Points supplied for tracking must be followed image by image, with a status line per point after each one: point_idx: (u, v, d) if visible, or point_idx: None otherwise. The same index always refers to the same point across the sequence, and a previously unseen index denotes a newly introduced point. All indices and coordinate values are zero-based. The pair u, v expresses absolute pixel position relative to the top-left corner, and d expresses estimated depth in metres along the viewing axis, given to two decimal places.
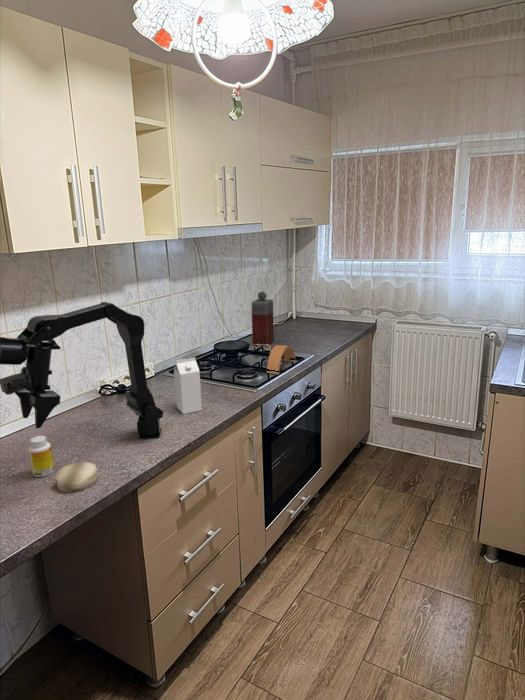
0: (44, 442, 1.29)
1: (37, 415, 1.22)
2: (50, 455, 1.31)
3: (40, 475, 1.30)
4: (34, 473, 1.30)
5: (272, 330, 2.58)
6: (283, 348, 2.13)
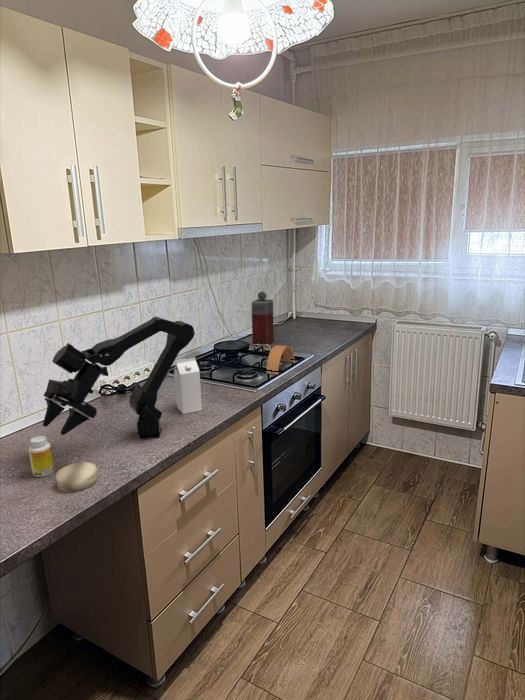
0: (44, 442, 1.29)
1: (69, 421, 1.30)
2: (50, 455, 1.31)
3: (40, 475, 1.30)
4: (34, 473, 1.30)
5: (272, 330, 2.58)
6: (282, 348, 2.13)
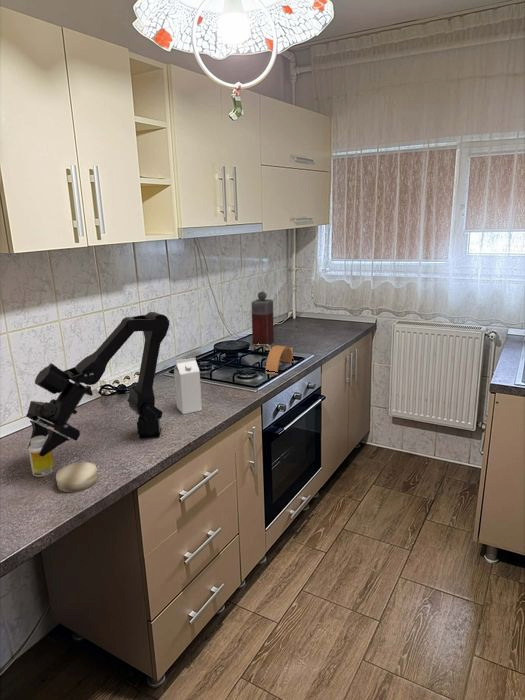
0: (44, 442, 1.29)
1: (48, 443, 1.28)
2: (50, 455, 1.31)
3: (40, 475, 1.30)
4: (34, 473, 1.30)
5: (272, 330, 2.58)
6: (281, 349, 2.12)
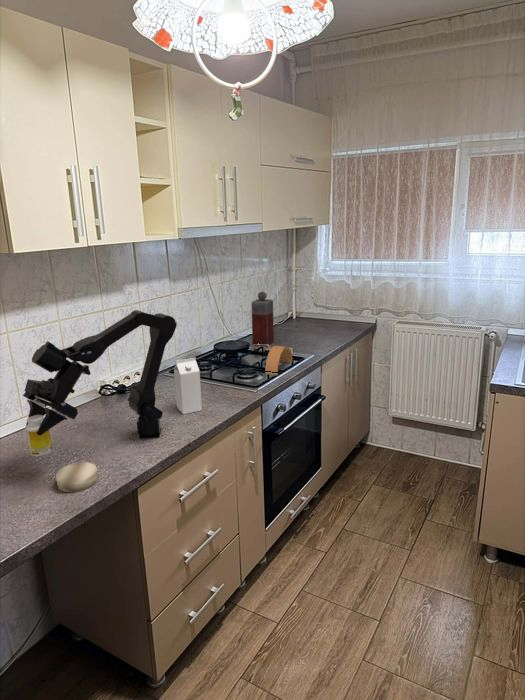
0: (41, 421, 1.28)
1: (45, 421, 1.26)
2: (48, 434, 1.29)
3: (38, 454, 1.28)
4: (32, 452, 1.28)
5: (272, 330, 2.58)
6: (281, 349, 2.12)
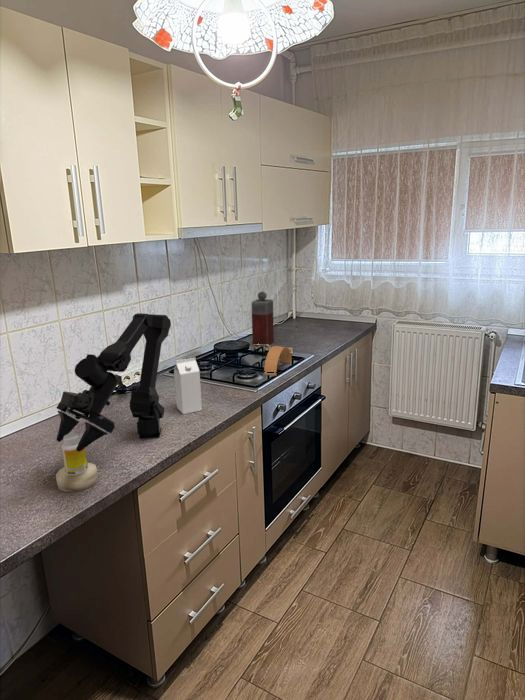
0: (78, 439, 1.24)
1: (85, 437, 1.21)
2: (84, 453, 1.25)
3: (74, 474, 1.24)
4: (67, 472, 1.24)
5: (272, 330, 2.58)
6: (280, 349, 2.12)
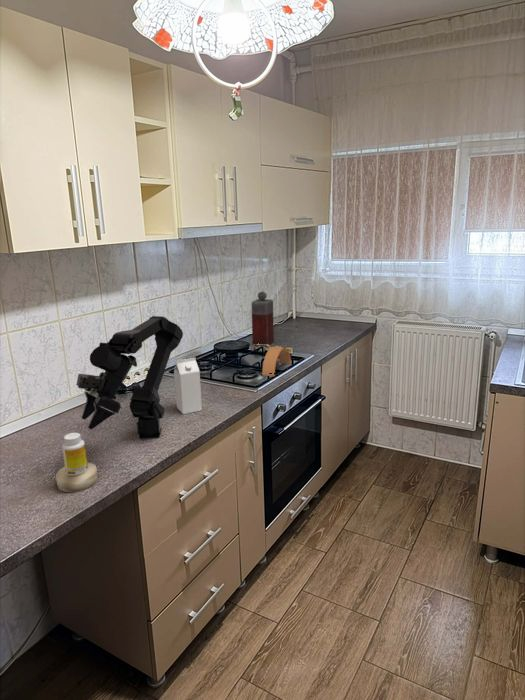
0: (78, 439, 1.24)
1: (94, 416, 1.29)
2: (84, 453, 1.25)
3: (74, 474, 1.24)
4: (68, 472, 1.24)
5: (272, 330, 2.58)
6: (279, 350, 2.11)
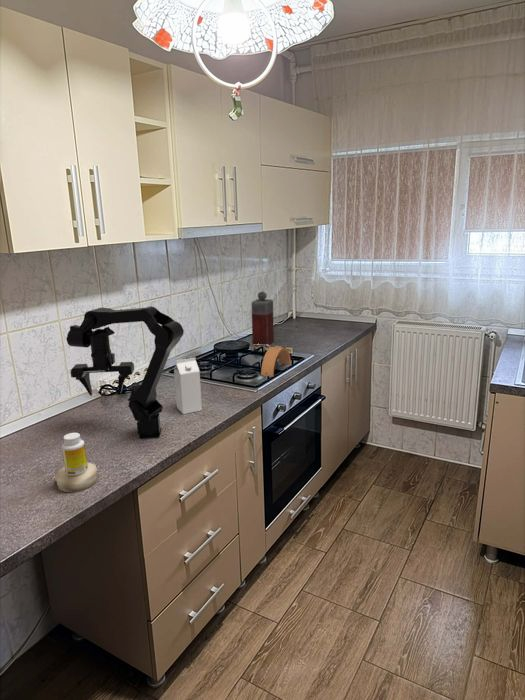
0: (78, 439, 1.24)
1: None
2: (84, 453, 1.25)
3: (74, 474, 1.24)
4: (67, 472, 1.24)
5: (272, 330, 2.58)
6: (278, 350, 2.10)
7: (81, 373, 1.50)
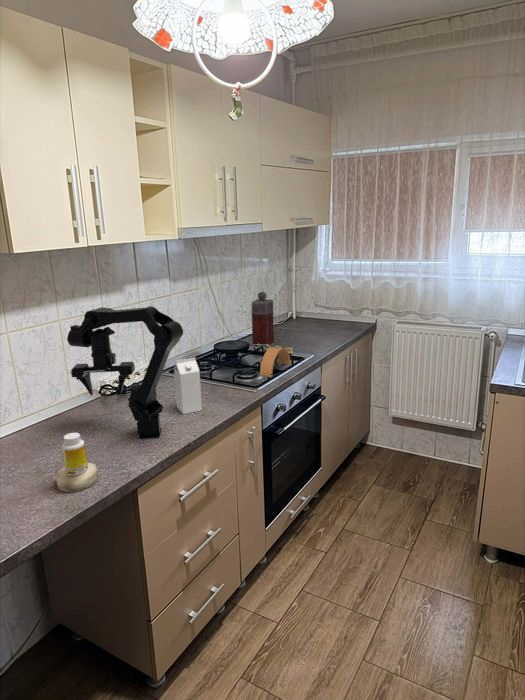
0: (78, 439, 1.24)
1: None
2: (84, 453, 1.25)
3: (74, 474, 1.24)
4: (67, 472, 1.24)
5: (272, 330, 2.58)
6: (277, 350, 2.10)
7: (81, 373, 1.50)
